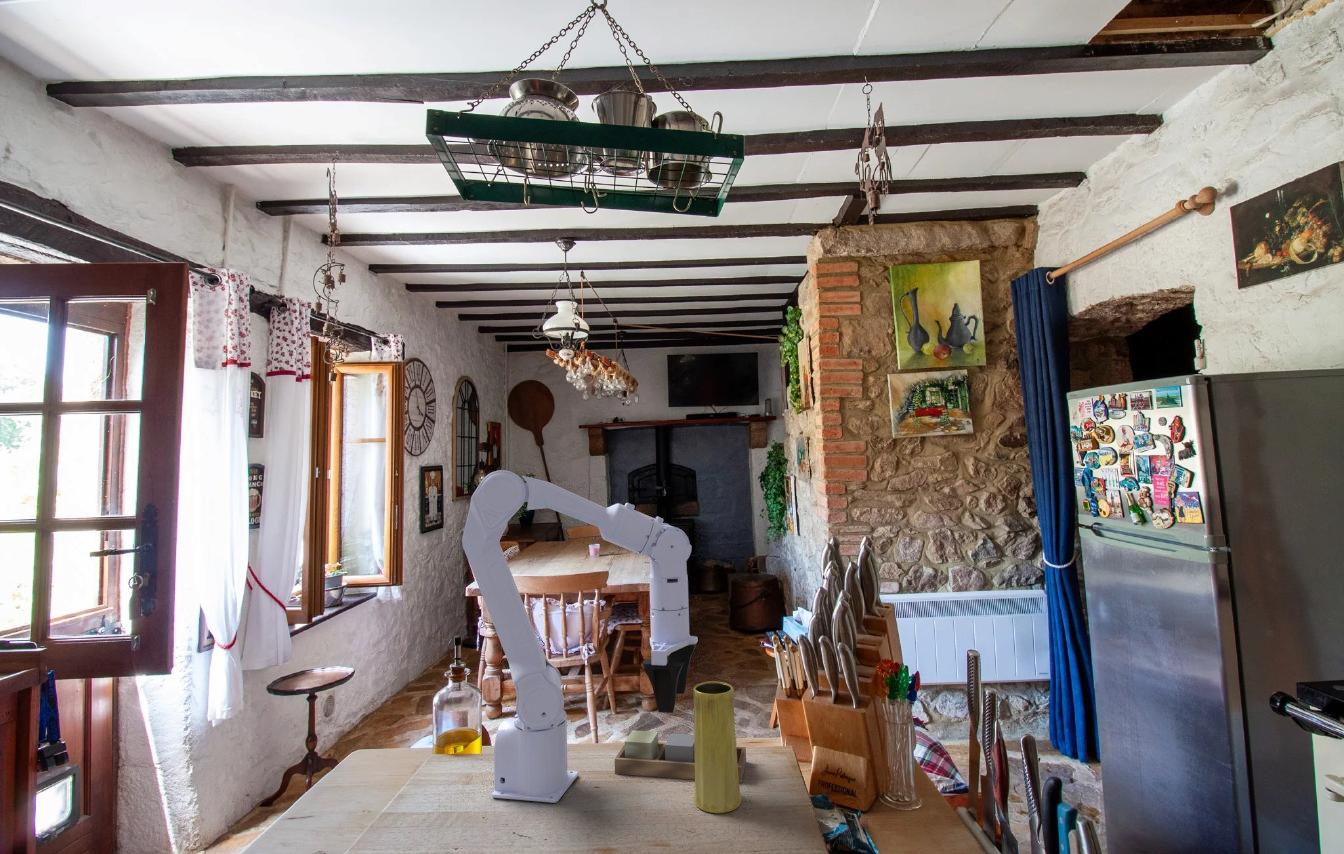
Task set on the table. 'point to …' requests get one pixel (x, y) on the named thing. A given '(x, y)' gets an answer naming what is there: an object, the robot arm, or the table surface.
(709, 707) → the vase
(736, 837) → the table surface
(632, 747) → the walnut rack
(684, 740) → the grey block
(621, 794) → the table surface
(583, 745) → the table surface
